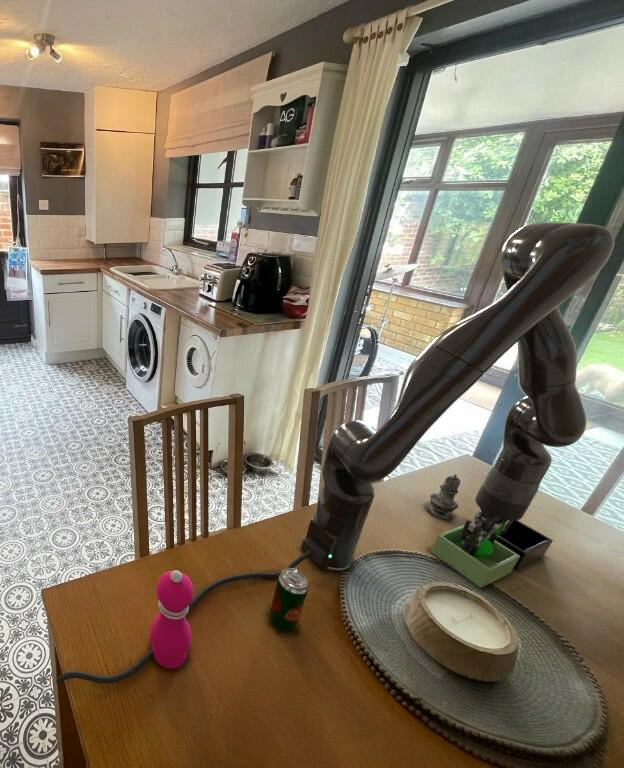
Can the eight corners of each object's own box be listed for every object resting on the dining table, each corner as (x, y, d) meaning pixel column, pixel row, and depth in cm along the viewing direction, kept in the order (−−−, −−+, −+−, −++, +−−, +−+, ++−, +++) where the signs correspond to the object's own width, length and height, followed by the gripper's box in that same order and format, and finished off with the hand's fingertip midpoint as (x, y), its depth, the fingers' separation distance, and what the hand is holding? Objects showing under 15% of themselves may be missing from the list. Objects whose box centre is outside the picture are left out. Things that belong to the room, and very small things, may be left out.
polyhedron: (491, 566, 87) (500, 549, 85) (462, 557, 89) (471, 541, 87) (483, 549, 91) (492, 533, 89) (456, 541, 93) (464, 525, 91)
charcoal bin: (515, 570, 89) (525, 553, 87) (464, 537, 98) (472, 520, 95) (542, 556, 92) (553, 540, 90) (491, 525, 101) (499, 509, 99)
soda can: (283, 639, 75) (296, 595, 70) (262, 616, 79) (273, 572, 74) (302, 627, 77) (316, 583, 72) (281, 605, 81) (292, 562, 76)
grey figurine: (458, 521, 102) (476, 483, 97) (431, 518, 103) (448, 480, 98) (445, 505, 107) (462, 468, 102) (420, 502, 108) (436, 465, 103)
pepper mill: (179, 680, 69) (189, 601, 60) (141, 657, 72) (145, 578, 64) (195, 644, 74) (206, 566, 66) (159, 624, 78) (165, 547, 69)
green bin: (480, 588, 85) (490, 570, 83) (430, 551, 94) (438, 535, 91) (510, 573, 88) (520, 556, 86) (459, 539, 97) (467, 523, 95)
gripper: (506, 472, 88) (475, 530, 95) (463, 487, 83) (434, 548, 90) (551, 494, 82) (514, 555, 89) (507, 512, 77) (472, 575, 84)
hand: (474, 551), depth 90 cm, fingers closed on polyhedron, 5 cm apart
